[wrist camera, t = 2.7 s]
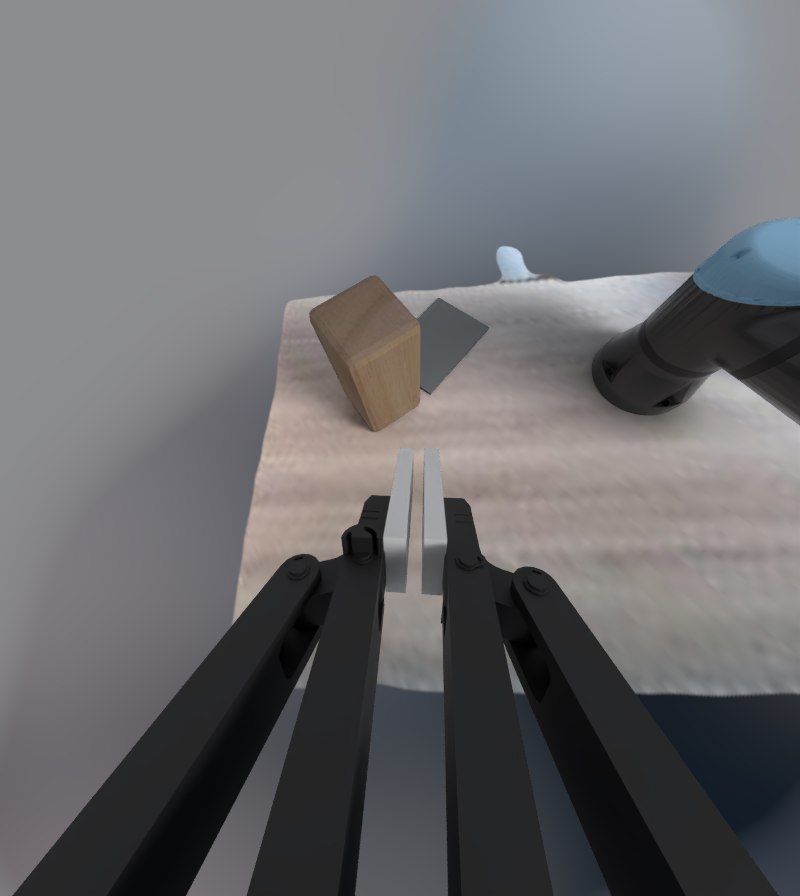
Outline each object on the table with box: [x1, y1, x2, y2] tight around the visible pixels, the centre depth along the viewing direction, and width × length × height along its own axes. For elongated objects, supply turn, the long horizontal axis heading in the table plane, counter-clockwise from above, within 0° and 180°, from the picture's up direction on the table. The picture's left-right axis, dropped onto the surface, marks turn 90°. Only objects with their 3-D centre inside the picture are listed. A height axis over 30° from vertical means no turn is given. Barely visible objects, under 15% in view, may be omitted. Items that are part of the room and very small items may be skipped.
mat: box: [417, 298, 489, 394], centre depth 54 cm, size 18×12×1 cm, turn 140°
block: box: [309, 276, 421, 432], centre depth 41 cm, size 10×10×20 cm
